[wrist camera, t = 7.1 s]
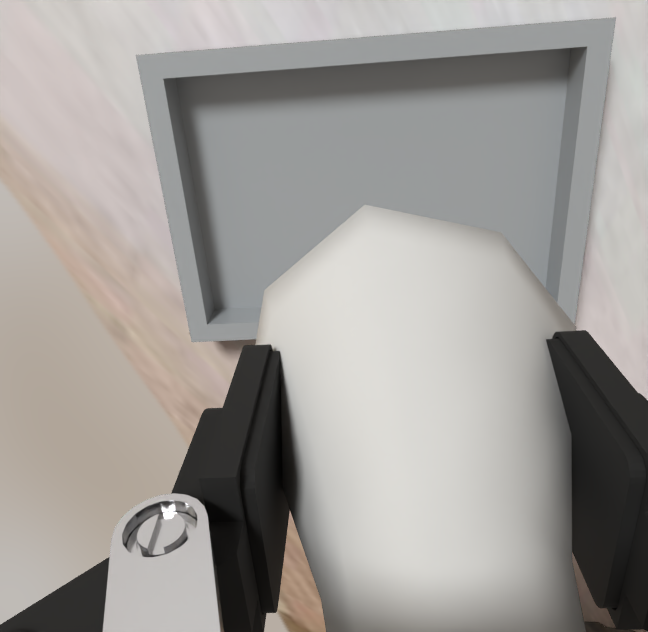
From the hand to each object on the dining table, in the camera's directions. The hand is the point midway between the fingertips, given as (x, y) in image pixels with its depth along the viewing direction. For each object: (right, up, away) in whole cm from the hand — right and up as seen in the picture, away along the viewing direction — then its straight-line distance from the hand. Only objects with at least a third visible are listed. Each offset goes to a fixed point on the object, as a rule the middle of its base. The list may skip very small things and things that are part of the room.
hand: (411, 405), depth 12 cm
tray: (+1, +8, +17) cm, 19 cm away
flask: (0, +1, +2) cm, 2 cm away
